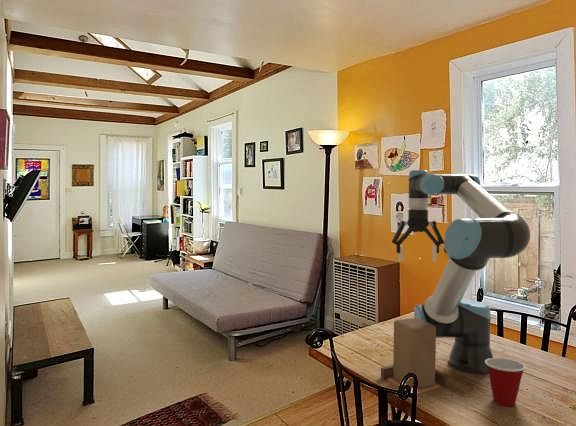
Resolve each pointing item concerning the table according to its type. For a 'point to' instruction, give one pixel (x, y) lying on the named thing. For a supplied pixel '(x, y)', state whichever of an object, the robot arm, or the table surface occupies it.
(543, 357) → the table surface
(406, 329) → the block
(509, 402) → the plastic cup
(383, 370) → the arena
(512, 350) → the table surface
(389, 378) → the tile
